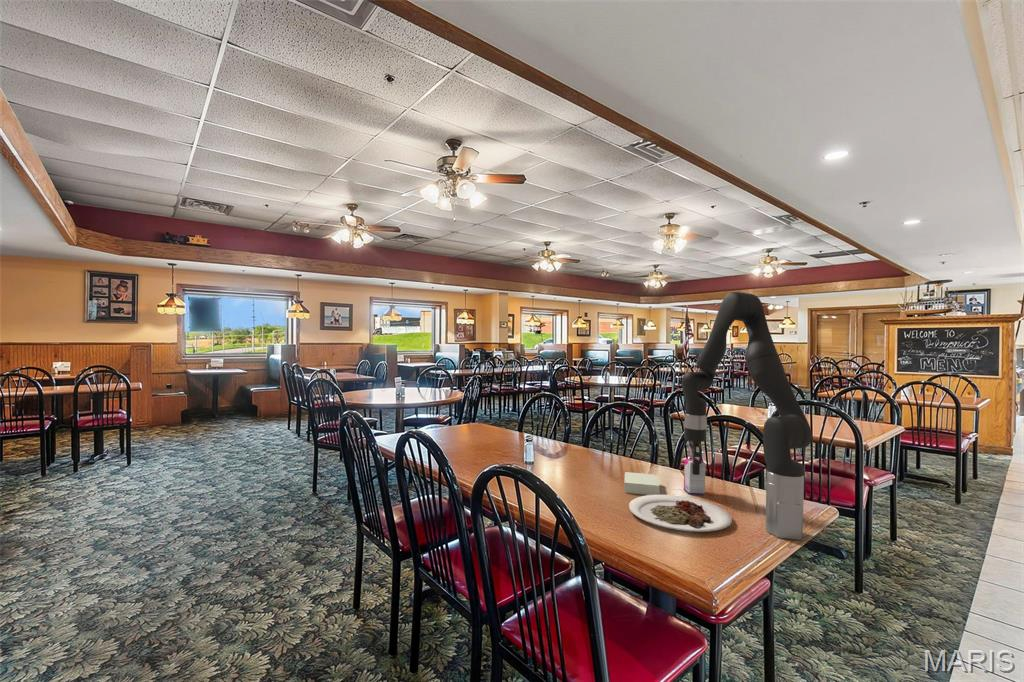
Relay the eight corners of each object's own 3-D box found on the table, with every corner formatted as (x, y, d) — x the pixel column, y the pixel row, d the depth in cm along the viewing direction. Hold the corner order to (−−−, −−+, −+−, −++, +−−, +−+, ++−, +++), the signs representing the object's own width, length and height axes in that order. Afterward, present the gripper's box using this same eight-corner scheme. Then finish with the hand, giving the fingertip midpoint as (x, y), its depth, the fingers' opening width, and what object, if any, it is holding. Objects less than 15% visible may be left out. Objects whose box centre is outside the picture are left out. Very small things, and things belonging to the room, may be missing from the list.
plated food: (622, 526, 134) (622, 514, 134) (634, 495, 162) (634, 485, 162) (736, 544, 123) (736, 532, 123) (728, 508, 151) (728, 497, 151)
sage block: (659, 497, 161) (659, 485, 161) (624, 493, 164) (624, 482, 164) (657, 485, 174) (657, 474, 175) (624, 482, 178) (625, 471, 178)
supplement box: (705, 495, 163) (706, 462, 163) (688, 494, 163) (689, 462, 163) (699, 489, 168) (699, 458, 169) (683, 489, 169) (683, 458, 169)
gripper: (709, 431, 158) (708, 478, 158) (703, 423, 172) (702, 466, 172) (686, 429, 160) (685, 475, 160) (682, 422, 174) (681, 465, 174)
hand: (694, 471), depth 166 cm, fingers open, 8 cm apart
